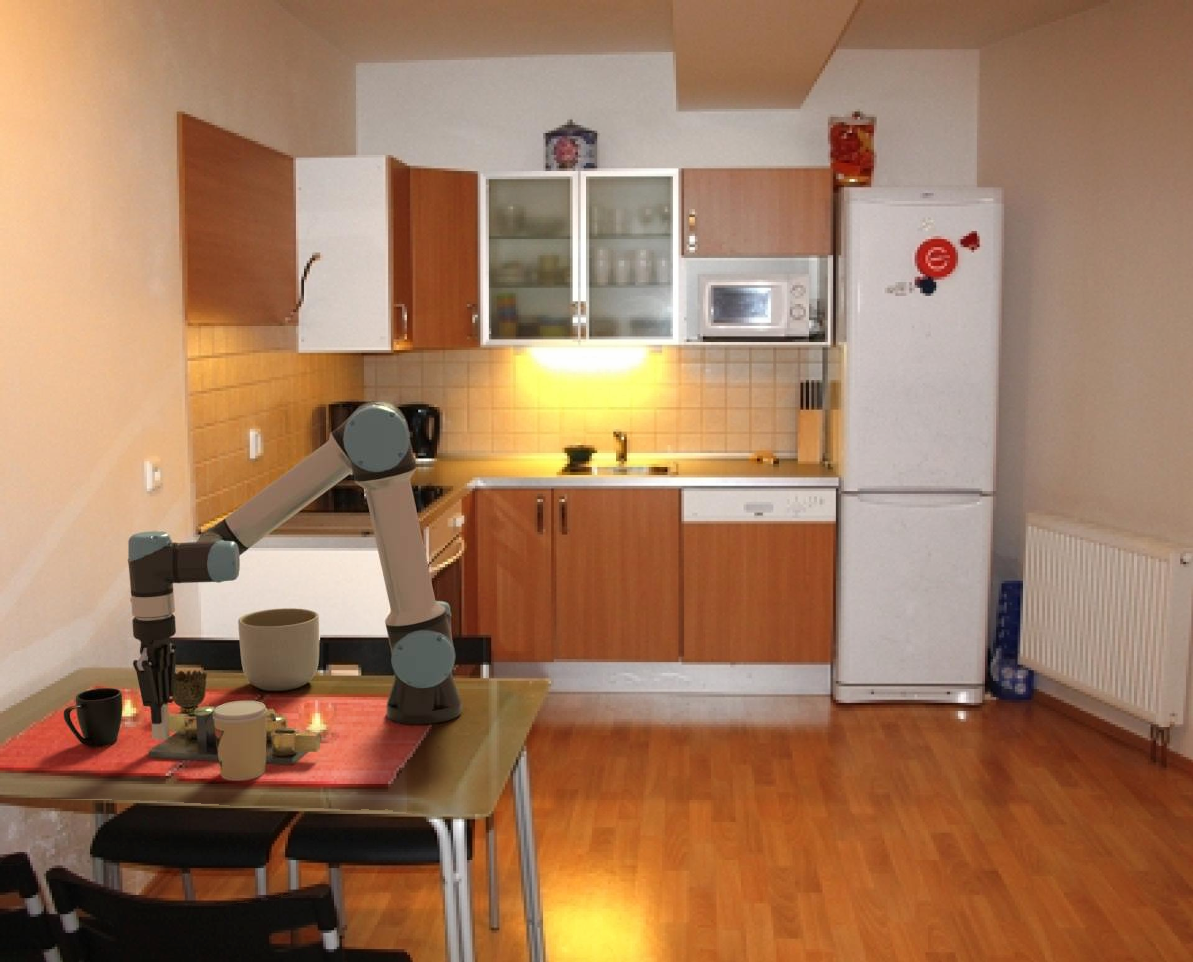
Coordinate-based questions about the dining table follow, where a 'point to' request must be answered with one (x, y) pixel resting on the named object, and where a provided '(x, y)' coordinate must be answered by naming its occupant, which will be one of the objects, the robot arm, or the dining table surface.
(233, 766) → the coffee cup
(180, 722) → the knob
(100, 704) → the mug
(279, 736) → the knob
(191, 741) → the plate
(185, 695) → the cup
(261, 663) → the planter
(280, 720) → the knob
